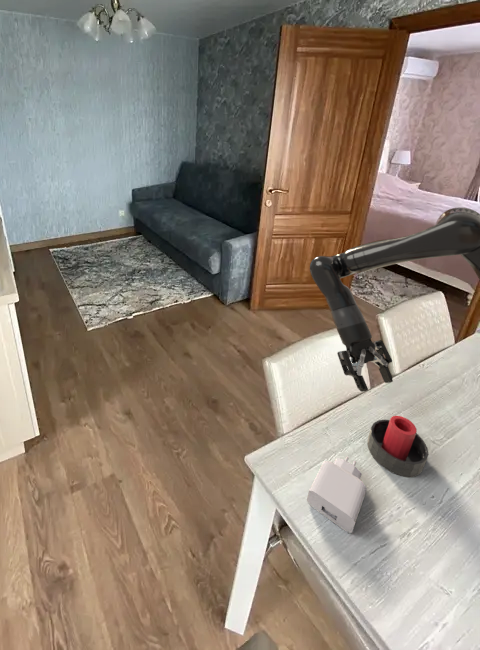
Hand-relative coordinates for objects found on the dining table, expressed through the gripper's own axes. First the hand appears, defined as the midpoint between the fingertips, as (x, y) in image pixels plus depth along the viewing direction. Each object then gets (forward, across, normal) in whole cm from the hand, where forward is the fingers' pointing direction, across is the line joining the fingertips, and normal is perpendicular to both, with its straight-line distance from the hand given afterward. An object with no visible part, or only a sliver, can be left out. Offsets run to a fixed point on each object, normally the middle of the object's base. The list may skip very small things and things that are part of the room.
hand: (377, 386), depth 88 cm
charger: (+17, -20, +2) cm, 26 cm away
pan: (+16, 0, +4) cm, 16 cm away
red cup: (+15, 0, +3) cm, 16 cm away
